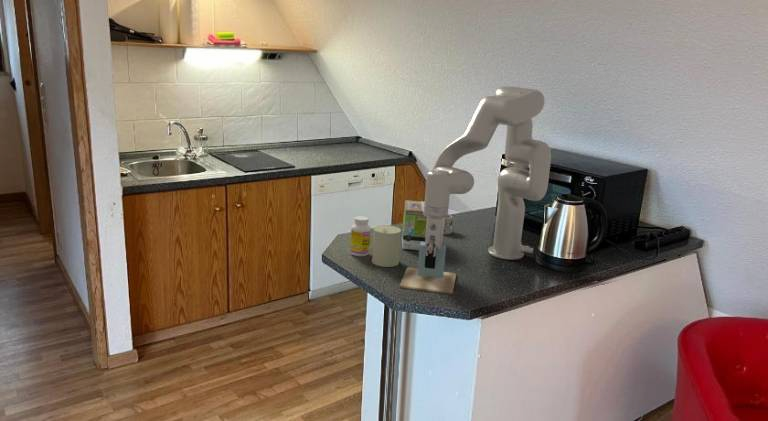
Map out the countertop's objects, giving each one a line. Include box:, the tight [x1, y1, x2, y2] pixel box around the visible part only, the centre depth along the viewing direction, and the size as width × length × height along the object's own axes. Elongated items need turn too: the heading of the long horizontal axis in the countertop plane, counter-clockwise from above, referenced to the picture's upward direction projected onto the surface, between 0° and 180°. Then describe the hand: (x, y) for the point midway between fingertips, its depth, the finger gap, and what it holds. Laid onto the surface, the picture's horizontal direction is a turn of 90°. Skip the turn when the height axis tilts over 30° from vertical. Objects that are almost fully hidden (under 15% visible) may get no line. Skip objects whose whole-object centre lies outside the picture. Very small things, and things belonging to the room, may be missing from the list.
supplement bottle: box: [349, 215, 372, 257], centre depth 205 cm, size 7×7×13 cm
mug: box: [443, 213, 454, 236], centre depth 238 cm, size 10×7×7 cm, turn 12°
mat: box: [399, 267, 457, 295], centre depth 186 cm, size 16×16×1 cm
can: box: [371, 224, 402, 268], centre depth 199 cm, size 9×9×12 cm
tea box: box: [401, 199, 427, 251], centre depth 219 cm, size 15×10×15 cm
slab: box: [417, 242, 447, 278], centre depth 189 cm, size 8×4×10 cm, turn 79°
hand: (431, 262), depth 189 cm, fingers open, 9 cm apart
